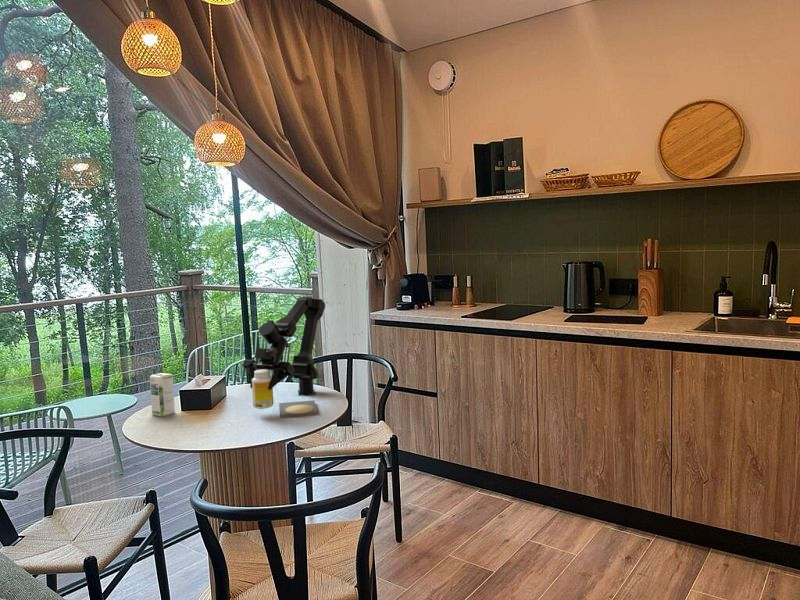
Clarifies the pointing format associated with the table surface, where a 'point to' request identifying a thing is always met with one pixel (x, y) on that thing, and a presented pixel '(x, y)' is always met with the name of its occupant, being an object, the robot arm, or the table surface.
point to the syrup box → (162, 394)
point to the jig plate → (297, 408)
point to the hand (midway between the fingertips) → (260, 388)
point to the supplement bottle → (262, 389)
